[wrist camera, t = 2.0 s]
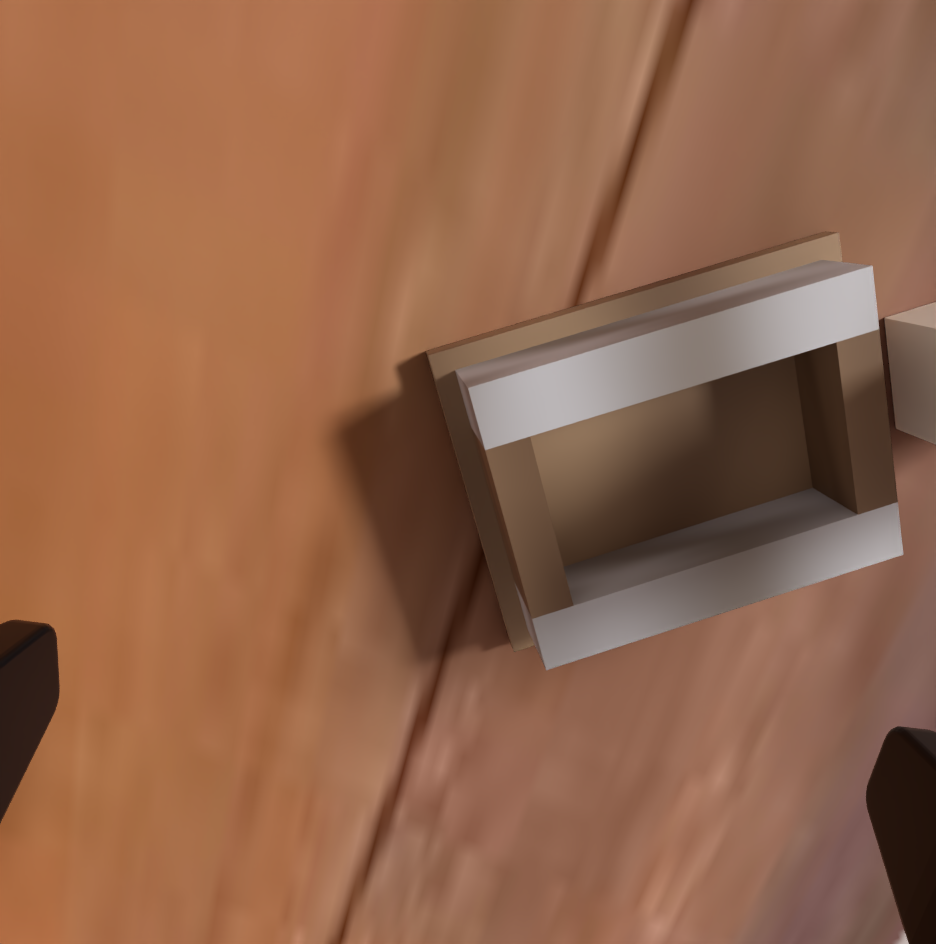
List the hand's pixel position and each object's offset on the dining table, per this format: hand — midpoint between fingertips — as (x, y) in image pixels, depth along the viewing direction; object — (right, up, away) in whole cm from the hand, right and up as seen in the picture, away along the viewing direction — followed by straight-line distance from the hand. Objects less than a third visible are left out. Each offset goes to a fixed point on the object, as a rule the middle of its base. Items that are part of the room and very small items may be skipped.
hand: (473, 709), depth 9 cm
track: (+5, +3, +12) cm, 14 cm away
